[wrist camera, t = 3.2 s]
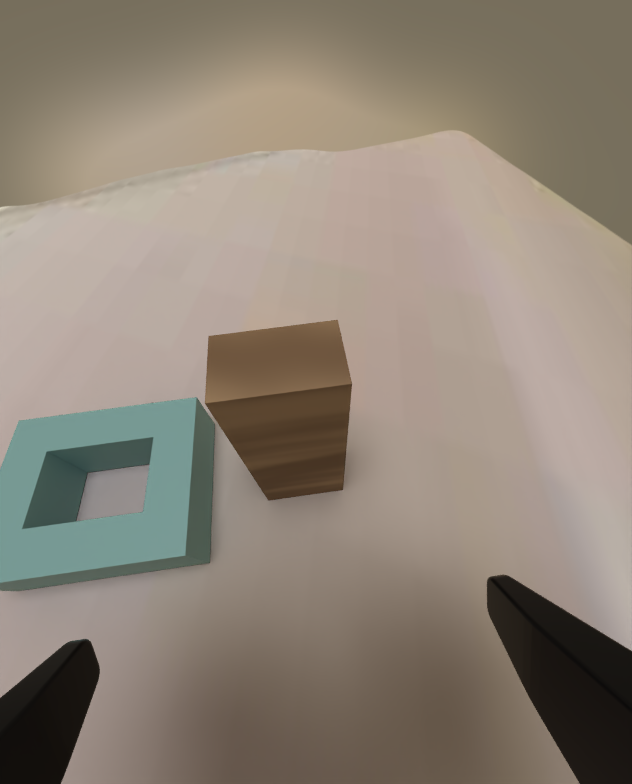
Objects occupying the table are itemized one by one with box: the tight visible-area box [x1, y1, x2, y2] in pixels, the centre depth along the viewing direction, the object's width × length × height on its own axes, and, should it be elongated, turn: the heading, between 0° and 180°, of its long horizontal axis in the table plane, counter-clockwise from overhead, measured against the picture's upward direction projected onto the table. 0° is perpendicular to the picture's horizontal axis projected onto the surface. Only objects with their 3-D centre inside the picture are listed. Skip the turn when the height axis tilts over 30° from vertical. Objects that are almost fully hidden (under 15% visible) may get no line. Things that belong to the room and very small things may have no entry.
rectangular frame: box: [0, 397, 215, 591], centre depth 21 cm, size 10×12×4 cm
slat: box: [205, 320, 352, 500], centre depth 18 cm, size 3×5×13 cm, turn 97°
